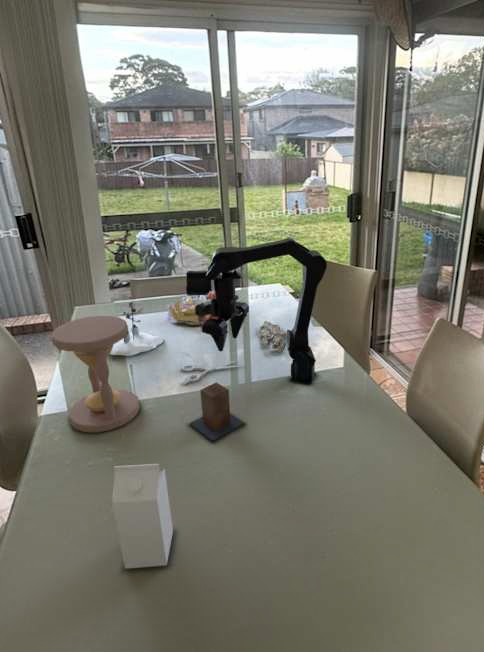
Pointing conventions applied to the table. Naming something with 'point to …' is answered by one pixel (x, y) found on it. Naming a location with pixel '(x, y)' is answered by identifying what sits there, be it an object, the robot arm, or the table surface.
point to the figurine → (135, 339)
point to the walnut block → (215, 406)
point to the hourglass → (97, 372)
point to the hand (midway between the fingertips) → (228, 344)
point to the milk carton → (142, 515)
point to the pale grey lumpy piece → (278, 340)
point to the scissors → (207, 369)
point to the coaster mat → (219, 433)
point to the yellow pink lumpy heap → (189, 310)
